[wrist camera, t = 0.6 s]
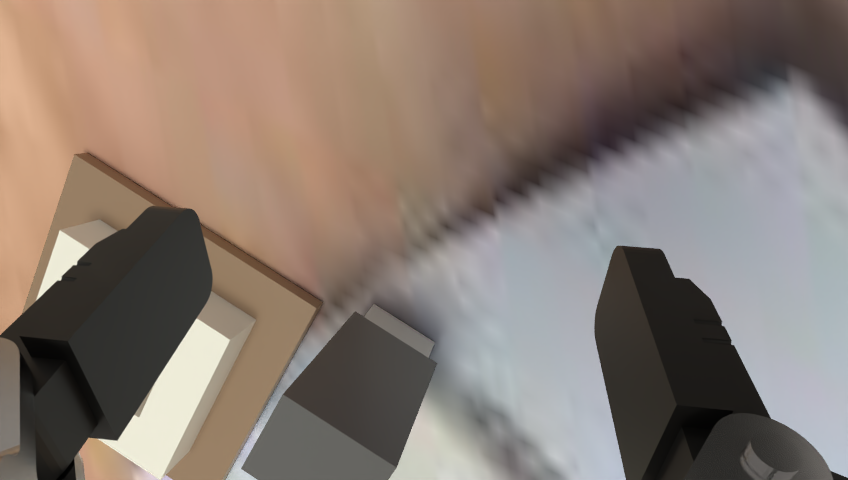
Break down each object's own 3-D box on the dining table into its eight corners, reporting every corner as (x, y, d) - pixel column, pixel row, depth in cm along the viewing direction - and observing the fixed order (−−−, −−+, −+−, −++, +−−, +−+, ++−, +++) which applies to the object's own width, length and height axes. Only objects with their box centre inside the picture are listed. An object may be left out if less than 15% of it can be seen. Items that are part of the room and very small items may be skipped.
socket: (87, 152, 34) (24, 159, 30) (322, 302, 34) (292, 331, 29) (17, 361, 40) (-44, 391, 36) (217, 493, 39) (179, 540, 35)
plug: (370, 294, 33) (282, 394, 22) (445, 341, 33) (396, 467, 21) (338, 348, 34) (241, 468, 23) (410, 394, 34) (347, 538, 23)
